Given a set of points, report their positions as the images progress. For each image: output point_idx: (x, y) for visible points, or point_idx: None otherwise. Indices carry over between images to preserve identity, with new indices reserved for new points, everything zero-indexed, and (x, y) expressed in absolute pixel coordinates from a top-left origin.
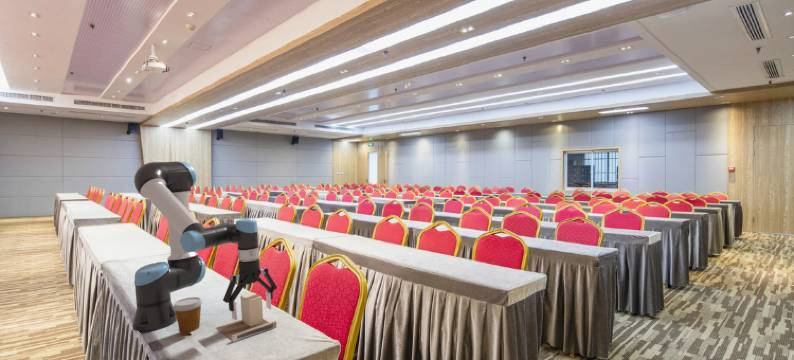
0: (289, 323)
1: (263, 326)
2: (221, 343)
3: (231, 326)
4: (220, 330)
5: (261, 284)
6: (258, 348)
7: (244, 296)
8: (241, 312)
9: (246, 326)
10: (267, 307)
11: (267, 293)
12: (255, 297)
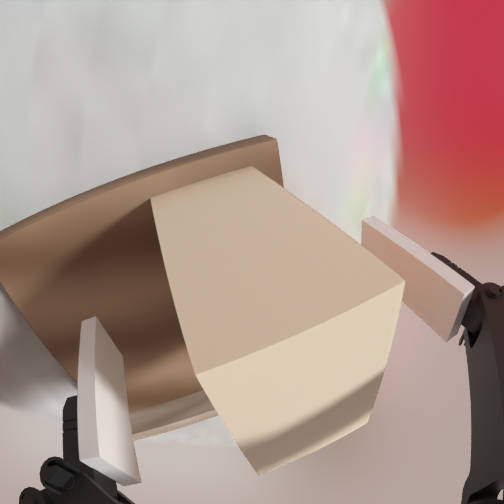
0: None
1: None
2: (60, 377)
3: (78, 274)
4: (22, 305)
5: (486, 413)
6: (201, 429)
7: (248, 413)
8: (157, 229)
9: (174, 313)
10: (365, 237)
11: (447, 318)
12: (328, 435)
